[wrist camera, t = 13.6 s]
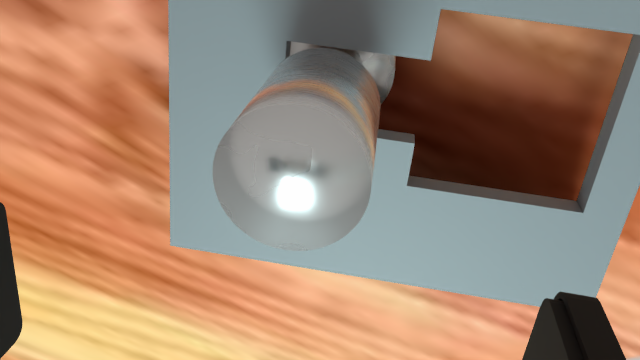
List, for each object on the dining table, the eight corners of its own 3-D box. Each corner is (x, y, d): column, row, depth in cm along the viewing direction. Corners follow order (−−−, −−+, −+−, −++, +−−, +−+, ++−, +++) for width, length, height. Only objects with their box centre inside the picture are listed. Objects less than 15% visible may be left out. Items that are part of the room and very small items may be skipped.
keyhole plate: (683, -110, 22) (755, -113, 17) (560, 250, 29) (588, 315, 24) (213, -164, 23) (167, -179, 19) (205, 194, 30) (170, 245, 26)
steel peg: (404, 9, 25) (403, 104, 13) (386, 115, 27) (372, 277, 15) (293, -6, 25) (198, 75, 14) (284, 100, 27) (195, 248, 16)
